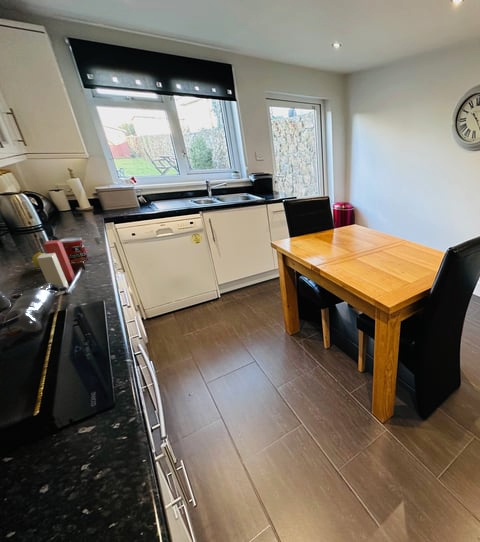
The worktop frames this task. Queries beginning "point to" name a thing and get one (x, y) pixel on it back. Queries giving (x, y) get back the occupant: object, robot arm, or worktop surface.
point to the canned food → (74, 249)
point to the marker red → (60, 257)
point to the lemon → (36, 259)
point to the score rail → (74, 267)
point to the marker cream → (52, 269)
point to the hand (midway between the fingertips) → (48, 285)
